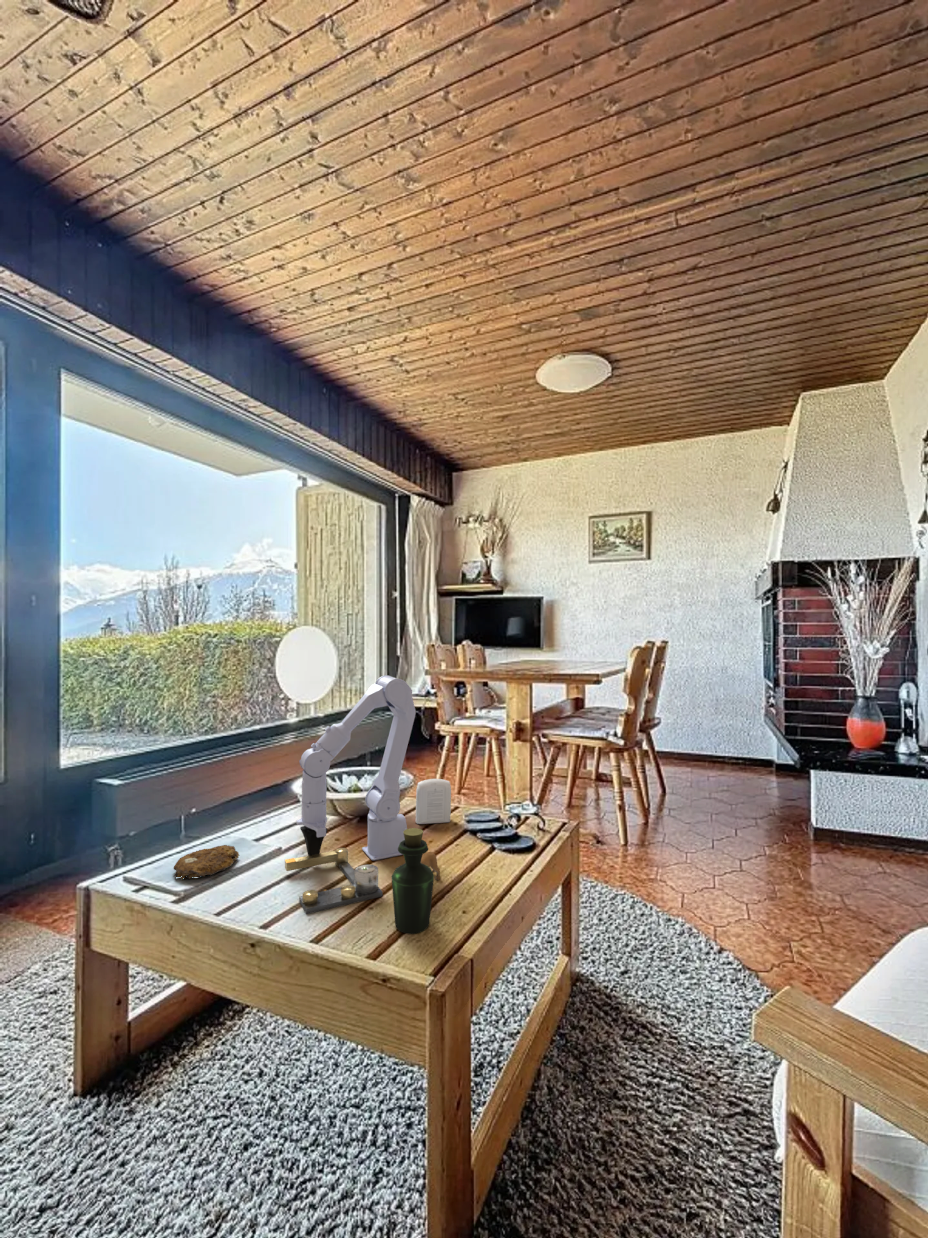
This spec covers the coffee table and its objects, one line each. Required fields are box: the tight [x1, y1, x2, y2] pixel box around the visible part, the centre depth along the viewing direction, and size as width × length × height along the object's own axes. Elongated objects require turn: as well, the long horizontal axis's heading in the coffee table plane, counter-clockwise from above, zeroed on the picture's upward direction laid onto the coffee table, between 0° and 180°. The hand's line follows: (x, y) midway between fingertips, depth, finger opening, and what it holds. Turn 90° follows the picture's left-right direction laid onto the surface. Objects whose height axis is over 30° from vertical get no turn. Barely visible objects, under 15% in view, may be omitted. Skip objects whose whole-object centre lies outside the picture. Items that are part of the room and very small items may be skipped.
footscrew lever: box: [284, 847, 349, 872], centre depth 135 cm, size 14×3×3 cm, turn 119°
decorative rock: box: [173, 844, 240, 880], centre depth 135 cm, size 11×4×15 cm
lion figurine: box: [420, 851, 441, 881], centre depth 126 cm, size 15×5×9 cm, turn 164°
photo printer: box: [415, 778, 452, 825], centre depth 167 cm, size 10×4×12 cm, turn 104°
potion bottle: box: [391, 827, 435, 935], centre depth 111 cm, size 8×8×18 cm
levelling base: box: [298, 861, 383, 915], centre depth 126 cm, size 16×18×6 cm
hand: (313, 857), depth 137 cm, fingers closed
